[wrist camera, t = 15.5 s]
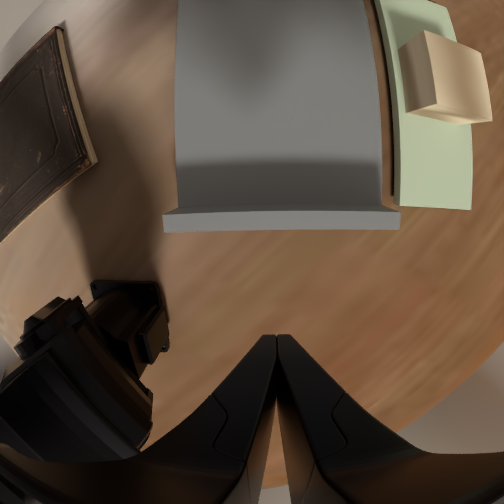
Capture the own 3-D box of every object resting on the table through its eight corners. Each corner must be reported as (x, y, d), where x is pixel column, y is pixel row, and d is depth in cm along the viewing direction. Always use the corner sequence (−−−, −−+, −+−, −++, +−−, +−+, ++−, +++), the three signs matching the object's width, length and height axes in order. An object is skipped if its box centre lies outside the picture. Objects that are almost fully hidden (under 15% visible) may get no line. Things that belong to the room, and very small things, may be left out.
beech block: (405, 113, 15) (436, 103, 11) (397, 49, 14) (423, 29, 10) (458, 124, 15) (492, 120, 11) (450, 65, 13) (480, 53, 10)
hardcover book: (105, 164, 19) (89, 165, 17) (-12, 262, 23) (-24, 268, 21) (66, 30, 15) (53, 23, 13) (-40, 154, 19) (-51, 156, 17)
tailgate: (399, 205, 17) (470, 209, 17) (375, -16, 12) (446, 8, 12) (393, 203, 18) (463, 207, 18) (371, -11, 13) (441, 12, 13)
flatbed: (186, 218, 20) (164, 232, 15) (186, -17, 14) (170, -46, 10) (373, 216, 19) (399, 229, 14) (351, -19, 13) (365, -48, 9)
